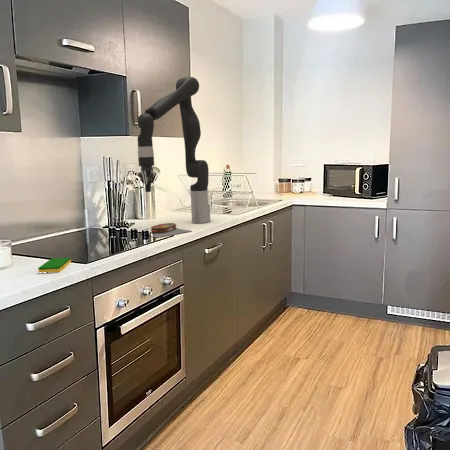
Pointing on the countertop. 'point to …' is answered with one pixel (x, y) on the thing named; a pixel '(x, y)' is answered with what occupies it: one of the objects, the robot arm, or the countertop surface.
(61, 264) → the dish sponge
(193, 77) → the robot arm
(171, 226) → the tin
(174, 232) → the mat
